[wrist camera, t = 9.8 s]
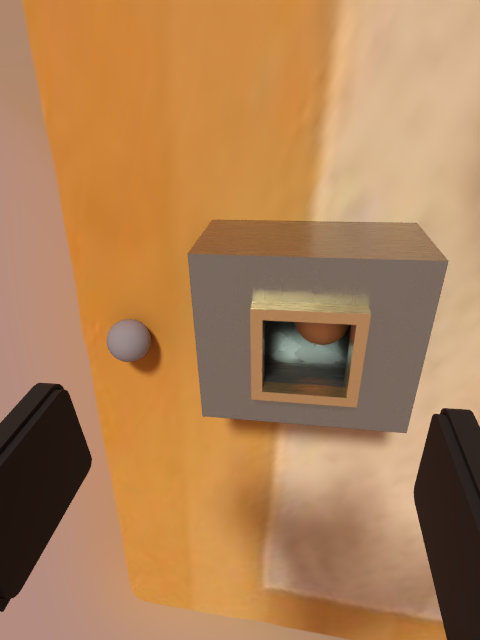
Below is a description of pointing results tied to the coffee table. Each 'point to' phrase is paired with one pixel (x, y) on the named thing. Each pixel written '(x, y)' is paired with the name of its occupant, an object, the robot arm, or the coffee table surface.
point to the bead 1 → (128, 340)
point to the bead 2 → (321, 332)
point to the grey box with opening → (313, 320)
